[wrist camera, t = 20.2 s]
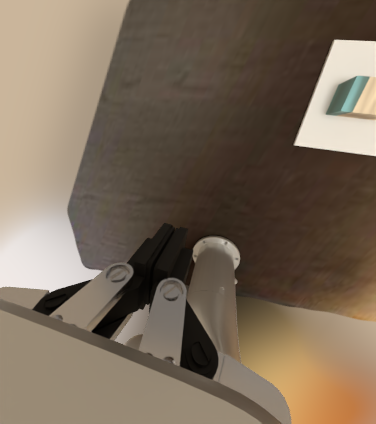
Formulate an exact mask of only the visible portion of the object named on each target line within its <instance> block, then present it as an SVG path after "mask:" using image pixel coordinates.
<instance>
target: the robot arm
mask: <svg viewBox="0 0 376 424" xmlns="http://www.w3.org/2000/svg"><path fill="white" fill-rule="evenodd" d="M174 231H175V232H174ZM187 233H188V229H186V228H183V227H180V228H179V229H178V228H176V230H175V228H174V227H173V226H172V225H171V224H167V223H164V224H163V225H162V227H161V228H160V229H159V230H158V232H157V233H156V234H155V236H154V237H153V238H152V239H151V238H147V239H146V240H145V242H144V243H143V244H142V245H141V246H140V248H139V249H138V250H137V251H136V252H135V254H134V255H133V256H132V257H131V259H130V260H129V261H128V262H127V263H115V264H113V265H110V266H109V267H107V268H106V269H105V270H104V271H102V272H101V273H100V274H99V275H98V276H96V277H95V278H94V279H92V280H88V281H85V282H82V283H78V284H75V285H71V286H68V287H65V288H61V289H58V290H55V291H53V292H51V293H49V291H48V290H40V289H28V288H16V287H2V288H0V424H291V416H290V411H289V407H288V405H287V403H286V401H285V398H284V397H283V395H282V394H281V392H280V391H279V390H278V389H277V388H276V387H275V386H274V385H273V384H272V383H270V382H269V381H267V380H265V379H264V378H262V377H261V376H259V375H258V374H256V373H255V372H253V371H252V370H250V369H249V368H247V367H246V366H244V365H243V364H241V358H240V352H239V344H238V332H237V317H236V295H235V284H236V283H237V280H236V278H235V274H234V270H235V269H236V268H237V266H238V265H239V262H240V254H239V250H238V248H237V247H236V245H235V244H234V243H233V242H232V241H230V240H229V239H227V238H224V237H221V236H207V237H204V238H202V239H200V240H199V241H198V242H197V243H196V244H195V246H194V248H193V250H191V249H187V248H185V244H186V238H187ZM192 256H193V260H194V262H195V267H194V271H193V274H192V278H191V282H190V286H189V290H188V294H187V291H186V287H185V282H186V279H187V275H188V272H189V269H190V265H191V261H192ZM186 294H187V297H186ZM149 303H150V308H149V316H148V320H147V323H146V327H145V330H144V334H140V335H136V336H134V337H132V338H131V339H129V340H128V341H127V342H126V343H125V344H124V345H123V344H120V343H118V342H115V341H114V340H115V339H116V337H117V336H118V335H119V333H120V332H121V330H122V329H123V328H124V326H125V325H126V324H127V322H128V321H129V319H130V318H131V316H132V314H133V312H135V311H137V310H138V309H142V310H143V309H144V307H145V305H146V304H147V305H148V304H149Z"/></svg>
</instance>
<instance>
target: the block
mask: <svg viewBox="0 0 376 424" xmlns="http://www.w3.org/2000/svg"><path fill="white" fill-rule="evenodd" d="M325 115H333V116H342V117H351V118H359V119H368V120H376V77H369V76H355V77H353V78H351V79H349V80H347V81H345V82H343V83H341V84H339V85H338V87H337V90H336V92H335V94H334V96H333V99H332V101H331V103H330V105H329V108H328V110H327V112H326V114H325Z"/></svg>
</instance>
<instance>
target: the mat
mask: <svg viewBox="0 0 376 424" xmlns="http://www.w3.org/2000/svg"><path fill="white" fill-rule="evenodd" d="M355 76H369V77H376V42H374V41H349V40H334V41H333V42H332V45H331V47H330V50H329V52H328V55H327V58H326V60H325V63H324V66H323V68H322V71H321V73H320V76H319V79H318V81H317V84H316V86H315V89H314V92H313V94H312V97H311V99H310V102H309V105H308V107H307V110H306V112H305V115H304V118H303V120H302V123H301V125H300V128H299V131H298V133H297V136H296V138H295V141H294V144H293V145H297V146H304V147H312V148H319V149H326V150H334V151H341V152H349V153H356V154H364V155H371V156H376V120H368V119H359V118H351V117H342V116H333V115H325V114H326V112H327V110H328V108H329V105H330V103H331V101H332V99H333V96H334V94H335V92H336V90H337V87H338V85H339V84H341V83H343V82H345V81H347V80H349V79H351V78H353V77H355Z"/></svg>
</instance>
